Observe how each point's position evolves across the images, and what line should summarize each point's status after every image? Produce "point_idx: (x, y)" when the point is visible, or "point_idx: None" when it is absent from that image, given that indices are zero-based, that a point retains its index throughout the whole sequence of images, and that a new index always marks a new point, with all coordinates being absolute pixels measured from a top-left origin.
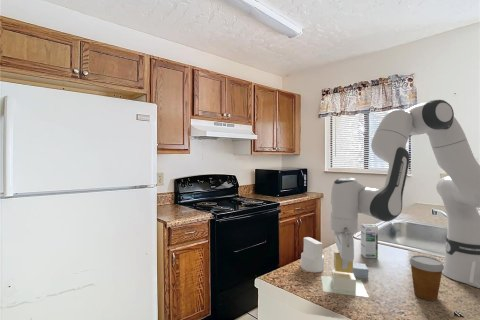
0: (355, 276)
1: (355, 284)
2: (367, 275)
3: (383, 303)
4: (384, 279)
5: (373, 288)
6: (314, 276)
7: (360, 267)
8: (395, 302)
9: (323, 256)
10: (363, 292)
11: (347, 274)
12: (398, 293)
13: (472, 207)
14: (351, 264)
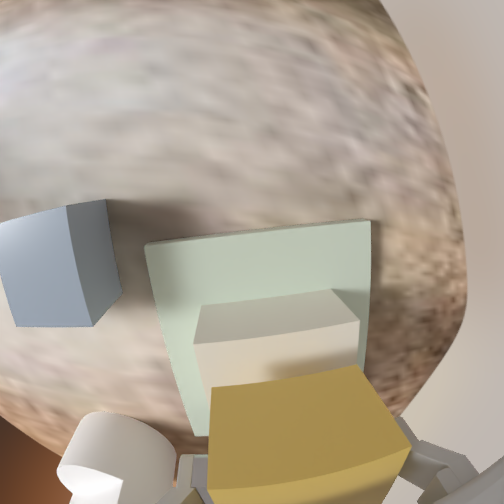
0: (110, 281)
1: (345, 308)
2: (89, 206)
3: (368, 148)
4: (54, 108)
5: (196, 171)
6: (188, 444)
7: (54, 264)
8: (334, 84)
9: (87, 469)
10: (325, 246)
11: (280, 375)
12: (214, 45)
13: None
14: (385, 421)
